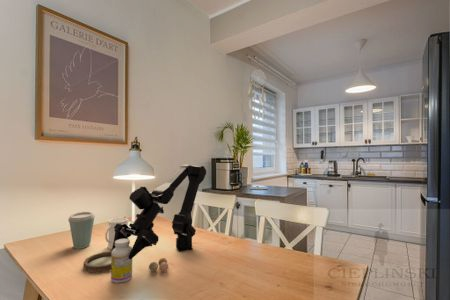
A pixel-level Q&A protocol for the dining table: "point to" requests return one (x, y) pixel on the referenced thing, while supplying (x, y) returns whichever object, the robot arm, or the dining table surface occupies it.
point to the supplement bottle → (121, 261)
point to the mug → (111, 230)
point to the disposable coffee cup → (81, 228)
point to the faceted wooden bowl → (98, 263)
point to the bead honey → (162, 261)
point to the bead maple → (153, 266)
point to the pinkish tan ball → (163, 267)
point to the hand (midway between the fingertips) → (120, 255)
